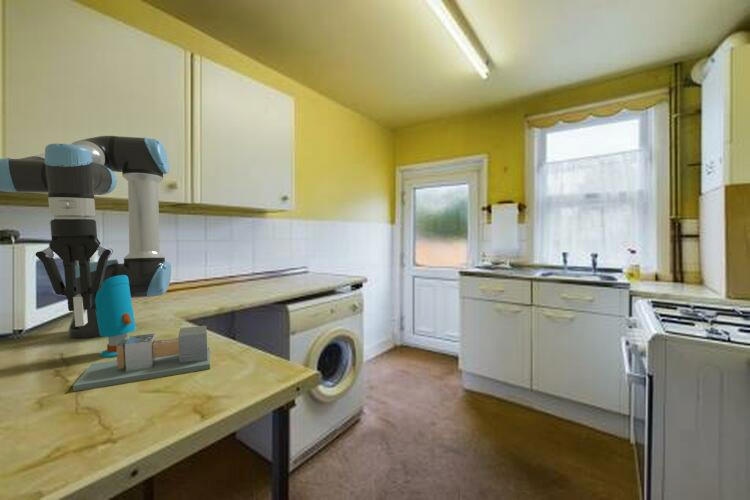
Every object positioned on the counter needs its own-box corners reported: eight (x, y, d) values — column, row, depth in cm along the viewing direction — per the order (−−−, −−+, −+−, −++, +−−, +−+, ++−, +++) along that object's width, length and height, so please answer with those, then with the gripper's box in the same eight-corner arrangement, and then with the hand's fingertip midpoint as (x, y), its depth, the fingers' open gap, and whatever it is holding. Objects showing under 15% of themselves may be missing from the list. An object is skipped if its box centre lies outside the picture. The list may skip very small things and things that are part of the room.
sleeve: (131, 362, 84) (130, 336, 83) (156, 358, 86) (154, 333, 85) (126, 372, 78) (124, 344, 77) (152, 368, 80) (151, 341, 80)
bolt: (122, 361, 82) (121, 339, 82) (193, 351, 89) (192, 331, 88) (117, 369, 78) (116, 346, 77) (192, 357, 84) (192, 336, 84)
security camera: (113, 272, 98) (142, 273, 96) (116, 346, 99) (146, 348, 97) (82, 276, 90) (114, 277, 88) (87, 356, 91) (118, 359, 89)
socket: (181, 354, 89) (180, 328, 88) (207, 350, 91) (206, 325, 91) (179, 364, 82) (178, 336, 81) (207, 360, 84) (206, 333, 84)
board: (91, 368, 83) (91, 363, 83) (209, 351, 94) (209, 347, 94) (73, 391, 71) (72, 385, 71) (209, 368, 82) (209, 363, 82)
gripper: (25, 218, 69) (35, 333, 71) (106, 218, 74) (113, 325, 76) (41, 218, 75) (50, 323, 77) (114, 218, 81) (120, 316, 83)
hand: (81, 324), depth 77 cm, fingers closed
